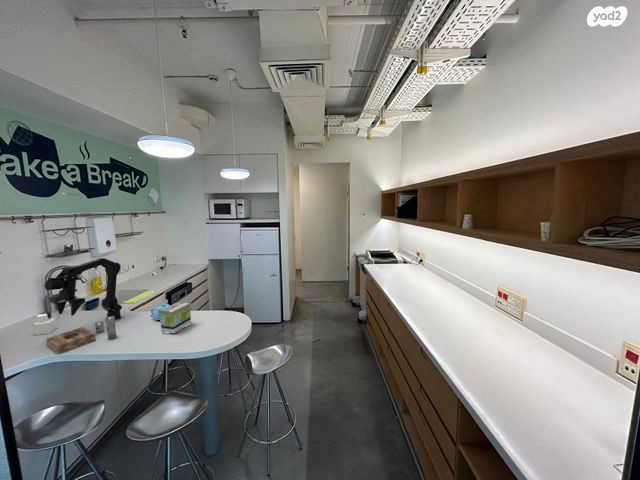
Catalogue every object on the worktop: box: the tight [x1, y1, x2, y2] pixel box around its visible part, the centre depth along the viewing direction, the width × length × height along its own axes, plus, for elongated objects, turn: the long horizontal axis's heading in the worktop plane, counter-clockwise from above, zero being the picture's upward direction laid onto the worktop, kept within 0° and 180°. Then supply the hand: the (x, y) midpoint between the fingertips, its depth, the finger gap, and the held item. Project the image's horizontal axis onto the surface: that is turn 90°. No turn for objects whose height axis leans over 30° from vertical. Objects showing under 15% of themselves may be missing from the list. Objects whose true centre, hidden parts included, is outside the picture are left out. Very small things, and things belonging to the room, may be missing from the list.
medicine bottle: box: [33, 311, 58, 336], centre depth 160 cm, size 7×7×12 cm
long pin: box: [105, 316, 117, 341], centre depth 153 cm, size 4×4×13 cm
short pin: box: [94, 321, 105, 335], centre depth 160 cm, size 4×4×6 cm
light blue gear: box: [150, 299, 171, 321], centre depth 181 cm, size 15×15×10 cm
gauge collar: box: [46, 326, 97, 355], centre depth 147 cm, size 16×16×4 cm
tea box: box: [160, 302, 192, 333], centre depth 165 cm, size 15×10×15 cm
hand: (66, 314), depth 152 cm, fingers open, 9 cm apart
